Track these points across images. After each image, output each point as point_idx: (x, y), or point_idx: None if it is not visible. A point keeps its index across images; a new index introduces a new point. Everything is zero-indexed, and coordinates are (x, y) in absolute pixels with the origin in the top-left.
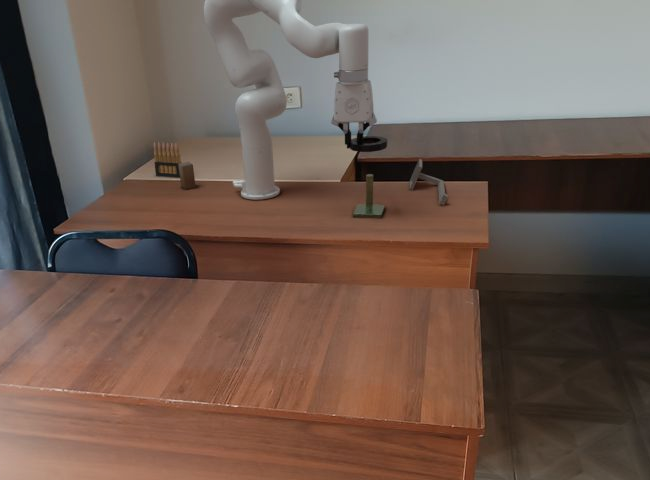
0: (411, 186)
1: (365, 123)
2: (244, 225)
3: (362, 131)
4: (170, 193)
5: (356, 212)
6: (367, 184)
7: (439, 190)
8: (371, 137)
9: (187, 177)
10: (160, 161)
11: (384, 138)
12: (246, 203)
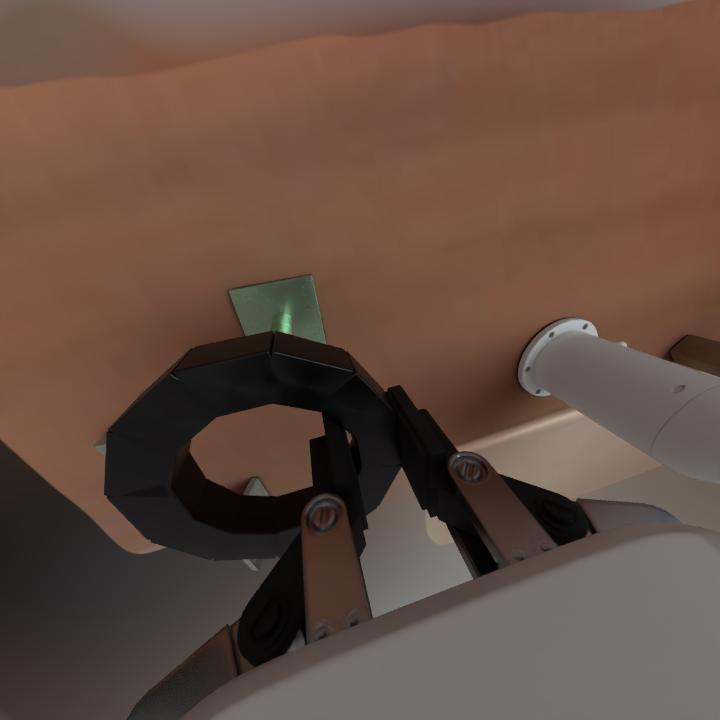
0: (253, 484)
1: (283, 640)
2: (583, 120)
3: (309, 519)
4: (716, 306)
5: (306, 288)
6: None
7: None
8: (288, 531)
9: (714, 348)
10: None
11: (181, 544)
12: (579, 294)
